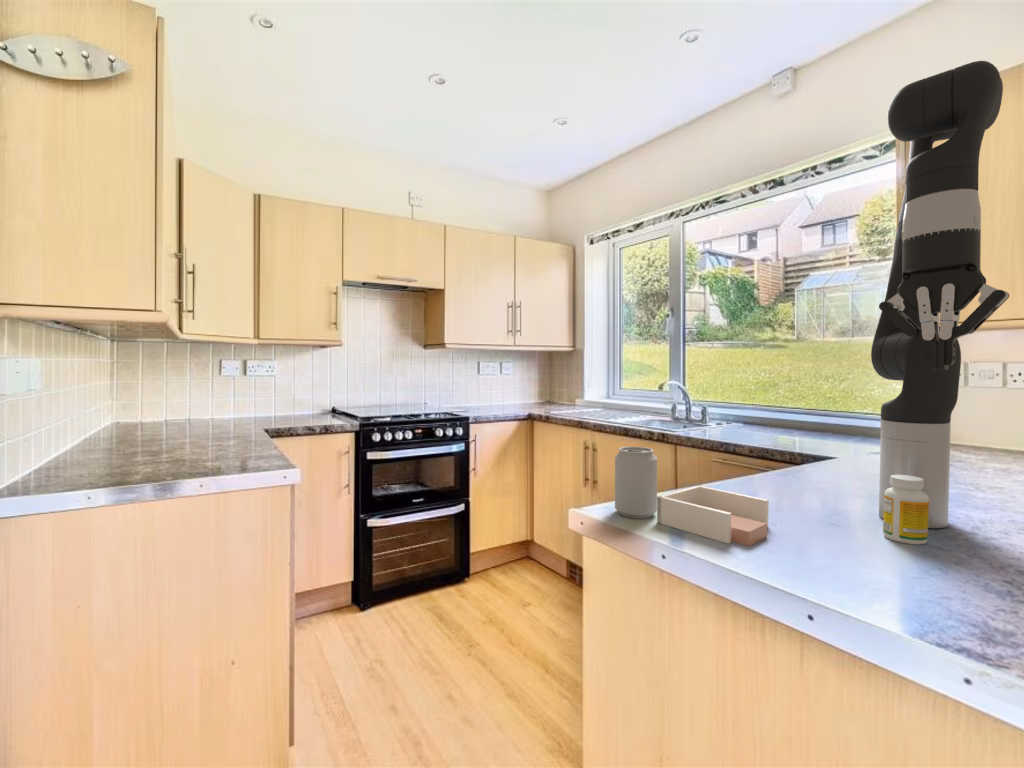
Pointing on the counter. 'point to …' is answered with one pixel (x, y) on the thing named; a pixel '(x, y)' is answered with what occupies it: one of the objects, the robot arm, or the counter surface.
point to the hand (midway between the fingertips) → (939, 369)
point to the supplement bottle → (906, 510)
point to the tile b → (747, 530)
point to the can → (636, 482)
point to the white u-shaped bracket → (708, 511)
